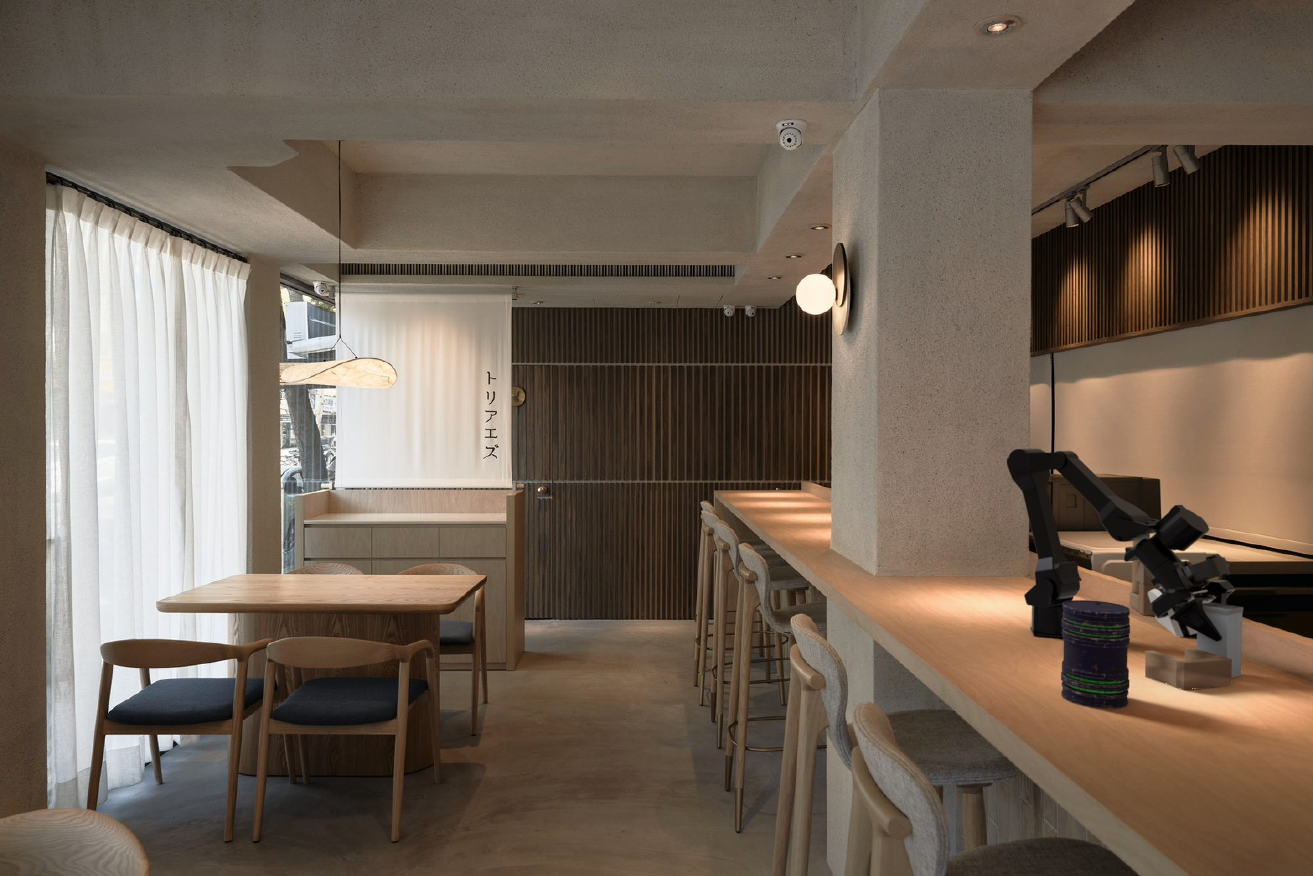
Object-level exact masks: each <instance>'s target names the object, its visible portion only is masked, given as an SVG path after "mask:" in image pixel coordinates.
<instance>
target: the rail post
mask: <svg viewBox="0 0 1313 876" xmlns="http://www.w3.org/2000/svg"><path fill="white" fill-rule="evenodd" d="M1203 611H1204V612H1205V613H1206V615H1207V616H1208V618H1209V619H1210V621H1211V622H1212V623H1213V625H1214V626H1215V628H1216V629H1217V630H1218V632H1219V633H1220V635H1221V637H1222V639H1221V640H1220V641H1218V642H1216V641H1214V640H1213V639H1211V638H1209V637H1207V636H1205V635H1203V634H1201V633H1199V632H1197V635H1196V649H1198V650H1202V651H1205V652H1209V653H1212V654H1216V655H1219V656H1222V657H1226V658H1229V659H1232V678H1231V679H1233V678H1236V677H1240V676H1242V651H1243V649H1242V647H1243V646H1242V645H1243V612H1244V607H1243V606H1237V605H1230V604H1227V603H1226V604H1220V603H1214V602H1210V603H1205V604H1203Z"/></svg>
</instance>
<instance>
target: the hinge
mask: <svg viewBox="0 0 1313 876" xmlns="http://www.w3.org/2000/svg"><path fill="white" fill-rule="evenodd" d="M1164 592H1165V591H1164V589H1163V588H1162V587H1161V586H1160V588H1159V589H1153V590H1151V591H1149V592H1148V596H1149V599H1150V602H1153V601H1154V600H1155V599H1156V598H1158V597H1159V596H1160V595H1161V594H1163V593H1164ZM1174 614H1175V613H1174V612H1173V608H1172V609H1170V610H1169V611H1168V616H1167V617H1164V618H1159V619H1158V618H1157V617H1156V616H1155V619H1156V621H1157V622H1158V623H1159V624H1160V625H1162V626H1163V627H1164V628H1166V630H1167V631H1169V632H1170V633H1171V634H1173V635H1174V636H1175V637H1176V636H1181V637H1180V638H1183V637H1184V635H1186V634H1187V635H1189V636H1192V635H1196V636H1197V631H1196V630H1194V629H1192V628H1190V627H1188V626H1185V625H1183V624H1181V623H1179V622H1177V621H1175V620H1171V619H1170V617H1171V616H1172V615H1174ZM1185 633H1186V634H1185Z"/></svg>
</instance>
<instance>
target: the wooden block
mask: <svg viewBox="0 0 1313 876" xmlns="http://www.w3.org/2000/svg"><path fill="white" fill-rule="evenodd" d="M1150 538H1151V534H1150V535H1149V536H1148V537H1147V538H1145V539H1150ZM1140 541H1141V540H1137V541H1132V547H1134V546H1135V545H1136V544H1138V543H1139V542H1140ZM1131 563H1132V564H1131V565H1132V566H1131V569H1132V570H1131V591H1130V592H1129V607H1131V608H1132V609H1134V610H1135V611H1136V612H1138V613H1139V614H1141V615H1142V616H1145V617H1146V616H1149V617H1156V616H1155V614H1154V613H1153V612H1152V611H1151V602H1150V599H1149V596H1148V592H1149V591H1151V590H1153V589H1159V588H1160V587H1161V586H1160V585H1156V586H1154V585H1153V583H1152V582H1151V581H1152V580H1153V579H1154V578H1153V577H1152V575H1151V574H1150V573H1149V572H1148V571H1147V569H1146V568H1145V567H1144V566H1143V565H1142V564H1141V562H1140V561H1139V560H1136V561H1131Z"/></svg>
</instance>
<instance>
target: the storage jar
mask: <svg viewBox="0 0 1313 876" xmlns="http://www.w3.org/2000/svg"><path fill="white" fill-rule="evenodd" d="M1063 609H1064V611H1063V619H1062V627H1063V628H1062V637H1063V638H1062V639H1063V658H1062V659H1063V660H1062V661H1061V672H1060V680H1061V687H1062V690H1061V697H1062V698H1063V699H1064V700H1066V701H1068V702H1070V703H1072V704H1075V705H1079V706H1083V707H1087V708H1093V709H1103V710H1115V709H1116V710H1117V709H1123V708H1126V707H1127V706H1128V705H1129V698H1128V695H1129V689H1130V679H1129V674H1130V673H1129V671H1130V670H1129V668H1128V647H1129V645H1130V641H1131V639H1130V634H1131V624H1130V619H1131V618H1130V617H1129V616H1130V615H1131V612H1130V611H1131V609H1130V608H1129V607H1128V606H1125V605H1123V604H1117V603H1115V602H1108V601H1100V600H1089V599H1087V600H1085V599H1083V600H1081V599H1075V600H1074V599H1073V600H1072V601H1066V602H1064V603H1063Z"/></svg>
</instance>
